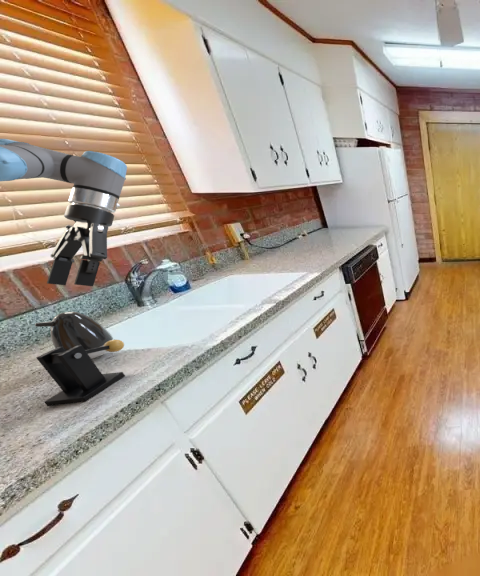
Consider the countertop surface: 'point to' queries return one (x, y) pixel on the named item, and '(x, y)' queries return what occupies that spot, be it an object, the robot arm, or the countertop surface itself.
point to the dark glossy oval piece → (77, 332)
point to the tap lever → (96, 349)
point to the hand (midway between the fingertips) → (69, 285)
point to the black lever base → (76, 376)
